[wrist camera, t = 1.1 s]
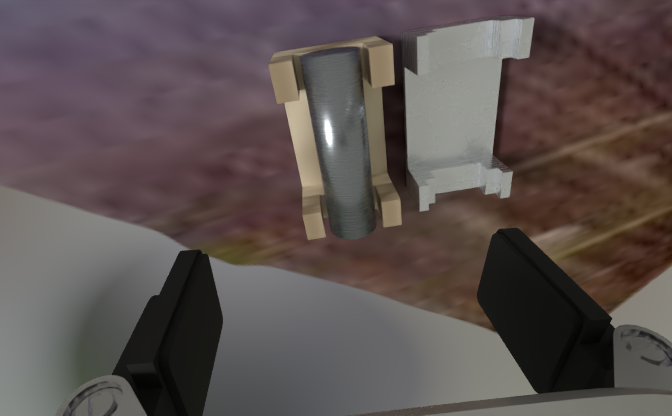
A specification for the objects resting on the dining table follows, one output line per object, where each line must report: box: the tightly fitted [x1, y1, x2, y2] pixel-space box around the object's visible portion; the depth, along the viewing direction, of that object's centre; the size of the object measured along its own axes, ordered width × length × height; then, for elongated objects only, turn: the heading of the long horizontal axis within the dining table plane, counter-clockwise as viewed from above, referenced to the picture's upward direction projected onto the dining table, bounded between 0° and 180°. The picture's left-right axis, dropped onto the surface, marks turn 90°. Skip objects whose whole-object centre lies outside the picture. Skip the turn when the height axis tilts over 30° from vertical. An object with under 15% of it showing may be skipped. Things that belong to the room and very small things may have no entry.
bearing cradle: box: [268, 36, 402, 240], centre depth 28 cm, size 8×14×6 cm, turn 8°
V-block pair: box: [401, 15, 534, 211], centre depth 29 cm, size 8×14×4 cm, turn 8°
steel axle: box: [300, 46, 376, 240], centre depth 26 cm, size 4×14×4 cm, turn 8°
